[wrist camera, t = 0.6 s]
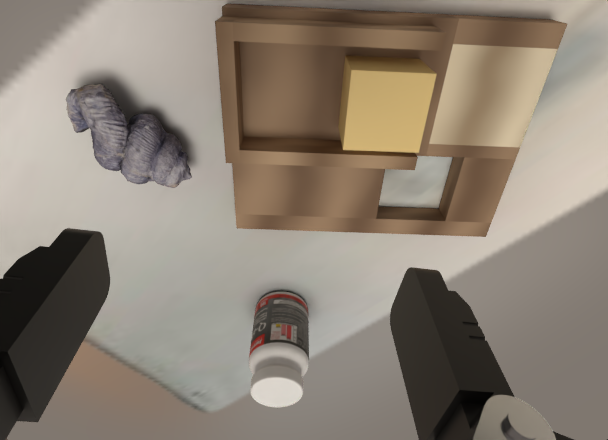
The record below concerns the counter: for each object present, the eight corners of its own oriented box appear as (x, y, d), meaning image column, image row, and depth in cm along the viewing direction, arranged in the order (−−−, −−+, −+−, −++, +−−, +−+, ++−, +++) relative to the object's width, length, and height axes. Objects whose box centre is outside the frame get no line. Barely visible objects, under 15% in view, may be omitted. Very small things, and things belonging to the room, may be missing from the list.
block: (419, 58, 26) (436, 73, 23) (405, 130, 29) (418, 152, 26) (345, 55, 26) (351, 70, 23) (338, 127, 29) (343, 149, 25)
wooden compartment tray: (550, 19, 26) (567, 23, 25) (477, 223, 36) (485, 236, 34) (227, 3, 26) (221, 6, 24) (239, 215, 35) (236, 228, 34)
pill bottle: (257, 286, 41) (245, 370, 32) (311, 291, 41) (313, 375, 33) (254, 323, 44) (243, 408, 36) (304, 327, 44) (305, 412, 36)
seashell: (83, 93, 31) (199, 158, 34) (44, 147, 29) (171, 211, 32) (82, 56, 26) (216, 136, 29) (35, 118, 24) (184, 196, 28)
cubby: (434, 26, 25) (445, 32, 23) (407, 155, 30) (414, 169, 28) (222, 16, 25) (215, 21, 22) (231, 148, 30) (225, 162, 28)
